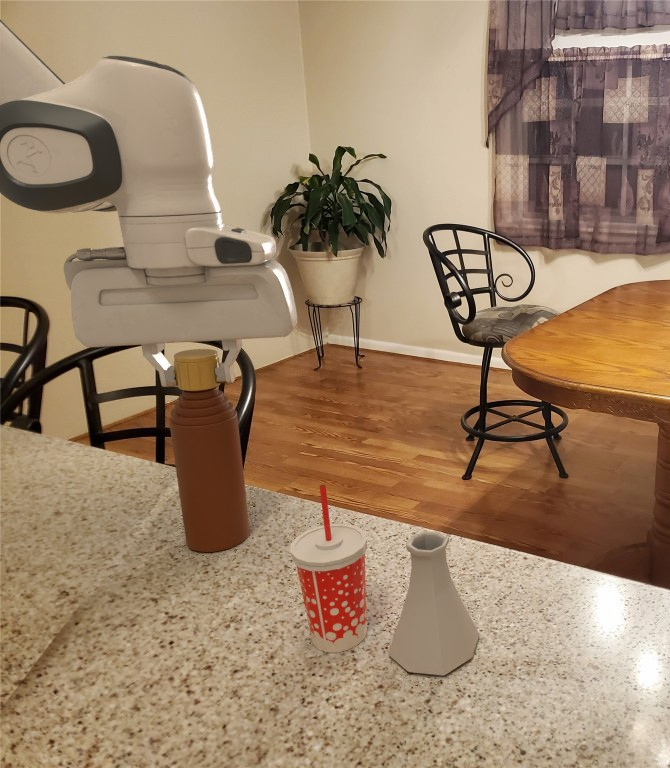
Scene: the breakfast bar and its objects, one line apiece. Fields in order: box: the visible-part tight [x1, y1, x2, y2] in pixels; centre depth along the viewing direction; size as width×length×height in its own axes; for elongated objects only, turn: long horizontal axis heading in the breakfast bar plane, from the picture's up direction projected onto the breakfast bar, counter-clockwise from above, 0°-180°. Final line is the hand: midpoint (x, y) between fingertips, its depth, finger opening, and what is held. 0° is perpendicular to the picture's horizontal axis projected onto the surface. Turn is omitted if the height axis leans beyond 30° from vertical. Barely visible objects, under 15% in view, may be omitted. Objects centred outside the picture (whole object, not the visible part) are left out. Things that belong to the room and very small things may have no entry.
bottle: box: [168, 386, 251, 553], centre depth 72 cm, size 6×6×20 cm
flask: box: [387, 530, 480, 676], centre depth 55 cm, size 7×7×10 cm
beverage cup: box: [290, 484, 368, 653], centre depth 57 cm, size 6×6×14 cm
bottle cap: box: [173, 348, 222, 391], centre depth 69 cm, size 4×4×3 cm
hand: (199, 383), depth 69 cm, fingers closed on bottle cap, 4 cm apart
